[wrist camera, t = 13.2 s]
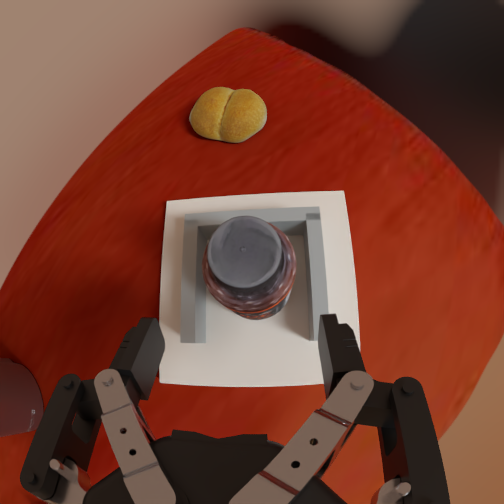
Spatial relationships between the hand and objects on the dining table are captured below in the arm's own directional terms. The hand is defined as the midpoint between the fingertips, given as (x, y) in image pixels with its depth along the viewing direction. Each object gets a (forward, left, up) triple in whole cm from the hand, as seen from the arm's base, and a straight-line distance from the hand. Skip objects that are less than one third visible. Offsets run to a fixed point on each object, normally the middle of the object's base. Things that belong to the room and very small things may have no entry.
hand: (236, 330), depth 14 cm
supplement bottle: (-2, +4, -12) cm, 12 cm away
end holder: (-2, +4, -13) cm, 13 cm away
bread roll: (-15, +20, -13) cm, 28 cm away
